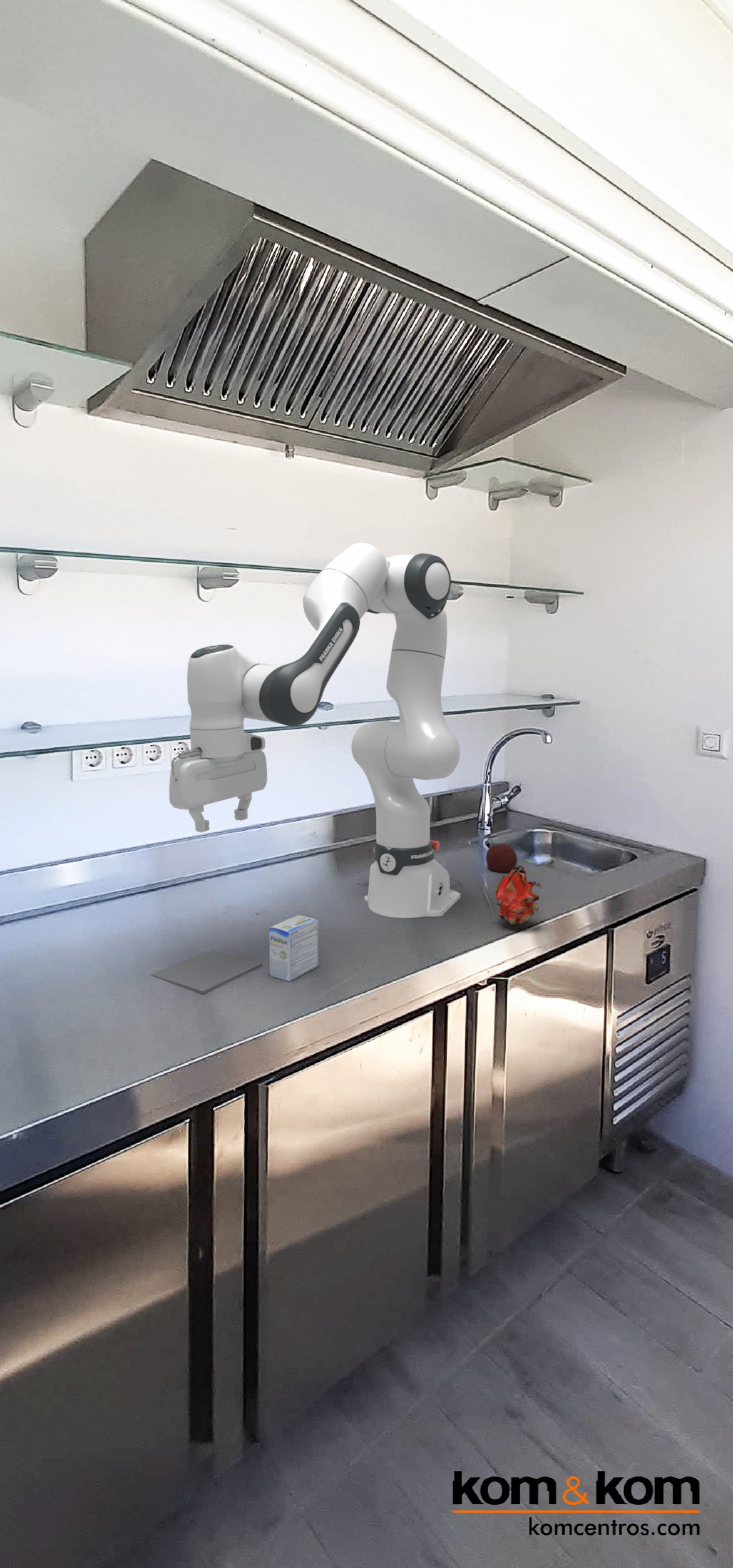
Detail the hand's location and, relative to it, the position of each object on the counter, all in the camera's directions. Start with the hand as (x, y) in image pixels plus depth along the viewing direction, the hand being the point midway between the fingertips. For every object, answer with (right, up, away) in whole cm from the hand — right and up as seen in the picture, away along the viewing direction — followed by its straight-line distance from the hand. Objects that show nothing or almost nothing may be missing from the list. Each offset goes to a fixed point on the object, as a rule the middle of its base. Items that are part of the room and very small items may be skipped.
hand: (222, 825), depth 140 cm
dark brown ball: (+57, -15, +62) cm, 86 cm away
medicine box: (+12, -25, -1) cm, 28 cm away
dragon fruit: (+54, -21, +23) cm, 62 cm away
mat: (-2, -25, -1) cm, 25 cm away
